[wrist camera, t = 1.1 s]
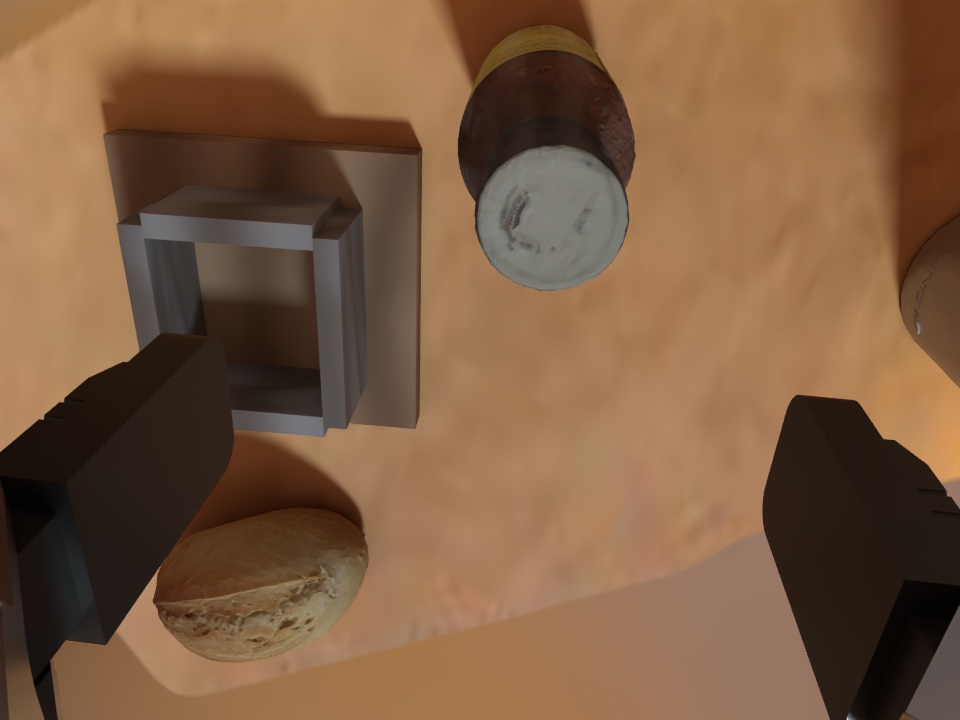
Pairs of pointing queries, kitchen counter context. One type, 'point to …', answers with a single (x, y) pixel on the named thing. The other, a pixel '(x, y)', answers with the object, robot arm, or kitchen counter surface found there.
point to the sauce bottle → (547, 159)
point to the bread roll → (261, 583)
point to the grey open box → (280, 269)
